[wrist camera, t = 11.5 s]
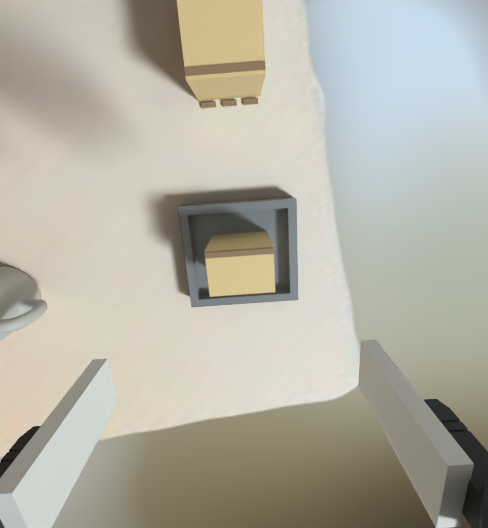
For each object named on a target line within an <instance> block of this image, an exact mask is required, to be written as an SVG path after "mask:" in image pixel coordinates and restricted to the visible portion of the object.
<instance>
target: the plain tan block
mask: <svg viewBox="0 0 488 528" xmlns="http://www.w3.org/2000/svg"><path fill="white" fill-rule="evenodd" d="M204 252H205V253H204V254H205V260H206V269H207V277H208V286H209V294H210V297H213V296H227V295H242V294H256V293H270V292H275V271H274V248H273V244H272V242H271V240H270V237H269V235H268V232H267V231H260V232H246V233H233V234H219V235H212V236H211V238H210V241H209V243H208V245H207V247H206V249H205V251H204Z"/></svg>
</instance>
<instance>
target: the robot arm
mask: <svg viewBox="0 0 488 528" xmlns="http://www.w3.org/2000/svg"><path fill="white" fill-rule="evenodd" d="M359 387H360V389H361V391H362V393H363V394H364V396H365V398H366V400H367V402H368V404H369V405H370V407H371V409H372V411H373V413H374V415H375V416H376V418H377V420H378V422H379V424H380V426H381V427H382V429H383V431H384V433H385V435H386V437H387V438H388V440H389V442H390V444H391V446H392V448H393V449H394V451H395V453H396V455H397V457H398V459H399V461H400V462H401V464H402V466H403V468H404V470H405V472H406V473H407V475H408V477H409V479H410V481H411V482H412V484H413V486H414V488H415V490H416V492H417V493H418V495H419V497H420V499H421V501H422V503H423V505H424V506H425V508H426V510H427V512H428V514H429V516H430V517H431V519H432V521H433V523H434V525H435V527H436V528H447V527H460V524H461V520H462V516H463V515H464V516H465V518H466V519H467V521H468V523H469V524H470V526H471V527H472V528H488V452H487V450H486V449H485V448H484V447H483V446H482V445H481V444H480V443H479V441H478V440H477V439H476V438H475V437H474V435H473V434H472V433H471V432H469V431H468V429H467V428H466V426H465V425H464V424H463V423H462V422H460V420H459V418H458V417H457V416H456V415H455V414H454V413H453V411H451V409H450V408H449V407H447V406H446V405H444V404H443V403H441V402H440V401H438V400H437V399H428V400H423V399H422V398H421V396H420V395H419V394H418V393H417V391H416V390H415V389H414V387H413V386H412V385H411V384H410V382H409V381H408V380H407V379H406V377H405V376H404V375H403V374H402V372H401V371H400V370H399V368H398V367H397V366H396V365H395V364H394V362H393V361H392V360H391V359H390V357H389V356H388V355H387V353H386V352H385V351H384V350H383V348H382V347H381V346H380V345H379V343H378V342H377V341H376V340H367V341H361V348H360V366H359ZM117 403H118V397H117V394H116V390H115V386H114V382H113V378H112V374H111V370H110V366H109V362H108V359H96V360H92V362H91V363H90V364H89V365H88V367H87V368H86V369H85V370H84V372H83V373H82V374H81V376H80V377H79V378H78V379H77V381H76V382H75V383H74V385H73V386H72V387H71V388H70V390H69V391H68V392H67V393H66V395H65V396H64V397H63V399H62V400H61V401H60V402H59V404H58V405H57V406H56V408H55V409H54V410H53V411H52V413H51V414H50V415H49V416H48V418H47V419H46V420H45V422H44V423H43V424H42V425H41V426H34V427H32V428H31V429H30V430H28V431H27V432H26V433H25V434H24V435H22V436H21V437H20V438H19V439H18V440H17V441H16V443H15V444H14V445H13V446H12V447H11V449H10V450H9V452H8V453H6V455H5V456H4V457H3V458H2V460H1V462H0V528H51V527H52V526H53V524H54V522H55V520H56V518H57V516H58V514H59V512H60V511H61V509H62V507H63V505H64V503H65V501H66V499H67V497H68V495H69V494H70V492H71V490H72V488H73V486H74V484H75V482H76V480H77V479H78V477H79V475H80V473H81V471H82V469H83V467H84V465H85V463H86V462H87V460H88V458H89V455H90V454H91V452H92V450H93V448H94V446H95V445H96V443H97V441H98V439H99V437H100V435H101V433H102V431H103V430H104V428H105V426H106V424H107V422H108V420H109V418H110V416H111V415H112V413H113V411H114V409H115V407H116V405H117Z"/></svg>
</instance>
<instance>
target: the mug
mask: <svg viewBox="0 0 488 528" xmlns="http://www.w3.org/2000/svg"><path fill="white" fill-rule="evenodd" d="M46 310H47V303H46V302H45V301H44V300H41V294H40V291H39V289H38V287H37V285H36V283H35V282H34V281H33V280H32V279H31V278H30V277H29V276H28V275H27V274H25V273H24V272H22V271H20V270H18V269H15V268H12V267H7V266H0V340H2V339H3V338H4V337H6V336H7V335H9V334H10V333H12V332H13V331H16V330H19V329H21V328H23V327H25V326H27V325H29V324H31V323H33V322H34V321H36V320H37V319H38V318H40V317H41V316H42V315H43V314H44V313H45V312H46Z"/></svg>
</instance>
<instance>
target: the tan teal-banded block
mask: <svg viewBox="0 0 488 528" xmlns="http://www.w3.org/2000/svg"><path fill="white" fill-rule="evenodd" d="M177 8H178V17H179V25H180V34H181V42H182V51H183V60H184V71H185V77H186V81H187V83H188V84H189V86H190V88H191V89H192V91H193V93H194V94H195V96H196V97H197V99H198V101H204V100H216V99H229V98H241V97H254V96H260V94H261V90H262V86H263V81H264V77H265V53H264V30H263V7H262V0H177ZM243 101H244V105H246V104H258V98H252V99H243ZM222 104H223V106H234V105H237V102H236V100H227V101H222ZM201 106H202V108H208V107H216V103H215V102H202V103H201Z"/></svg>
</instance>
